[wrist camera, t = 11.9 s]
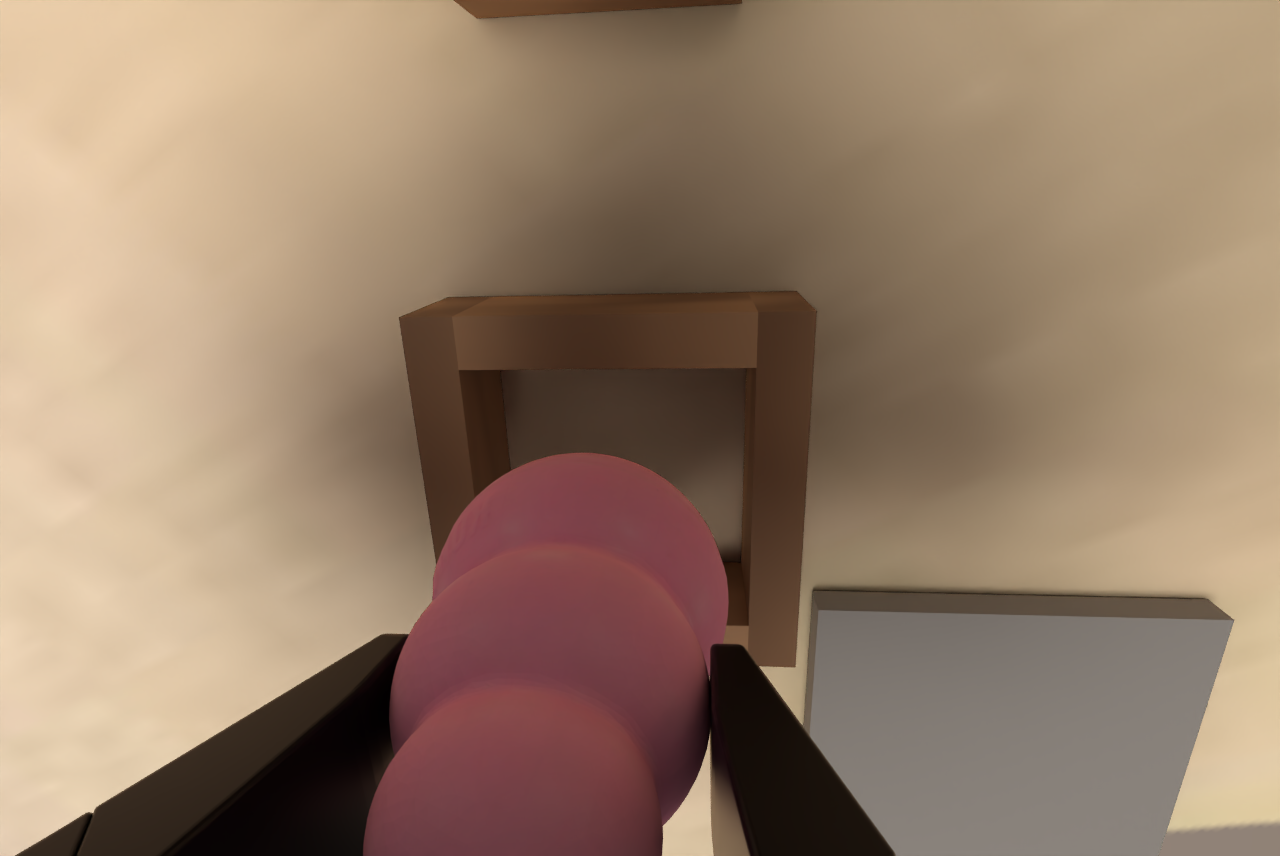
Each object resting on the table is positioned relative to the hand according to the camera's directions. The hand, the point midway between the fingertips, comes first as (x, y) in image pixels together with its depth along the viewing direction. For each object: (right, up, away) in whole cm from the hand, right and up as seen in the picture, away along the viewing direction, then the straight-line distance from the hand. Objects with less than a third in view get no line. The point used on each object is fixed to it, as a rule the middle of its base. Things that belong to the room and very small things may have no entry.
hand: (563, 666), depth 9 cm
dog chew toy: (0, +1, +3) cm, 4 cm away
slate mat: (+10, -5, +9) cm, 14 cm away
